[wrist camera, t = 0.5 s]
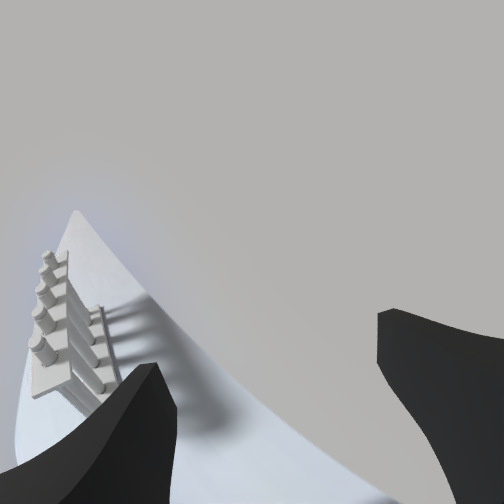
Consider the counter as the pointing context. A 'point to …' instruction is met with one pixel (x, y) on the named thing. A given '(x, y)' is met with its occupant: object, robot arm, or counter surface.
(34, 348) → the test tube rack
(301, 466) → the counter surface
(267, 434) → the counter surface
